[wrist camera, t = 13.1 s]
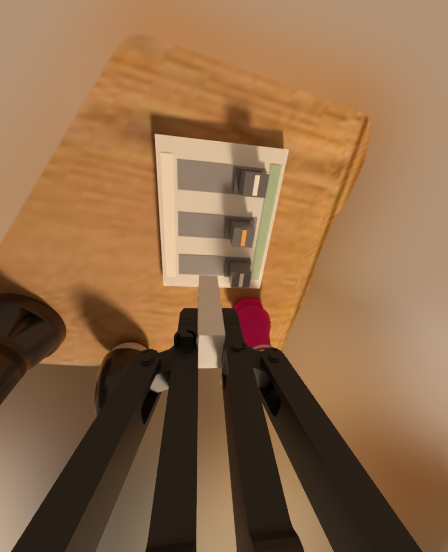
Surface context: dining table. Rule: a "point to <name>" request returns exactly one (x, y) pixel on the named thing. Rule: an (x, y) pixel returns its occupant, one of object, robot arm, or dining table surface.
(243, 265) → the breaker
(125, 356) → the black glossy egg shape
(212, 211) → the panel
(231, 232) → the breaker
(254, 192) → the breaker
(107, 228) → the dining table surface
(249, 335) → the pepper mill
